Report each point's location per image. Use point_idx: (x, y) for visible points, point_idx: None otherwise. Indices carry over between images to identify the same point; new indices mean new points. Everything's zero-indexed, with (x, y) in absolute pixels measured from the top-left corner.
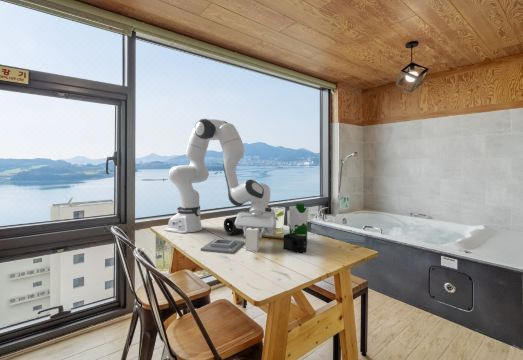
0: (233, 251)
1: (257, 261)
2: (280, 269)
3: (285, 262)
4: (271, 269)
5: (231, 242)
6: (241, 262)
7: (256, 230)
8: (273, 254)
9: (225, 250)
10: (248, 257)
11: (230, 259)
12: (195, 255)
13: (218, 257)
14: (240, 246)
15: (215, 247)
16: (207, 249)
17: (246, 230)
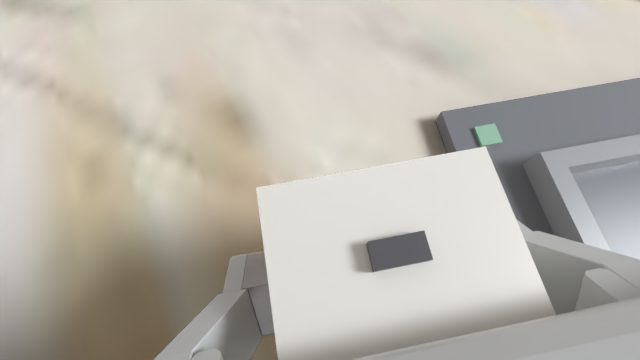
0: (445, 128)
1: (210, 78)
2: (45, 37)
3: (21, 136)
4: (96, 20)
5: (588, 229)
6: (295, 31)
7: (269, 185)
8: (135, 245)
9: (505, 108)
10: (295, 110)
11: (382, 40)
12: (612, 8)
13: (468, 36)
14: None
15: (628, 131)
16: (637, 79)
17: (463, 155)
